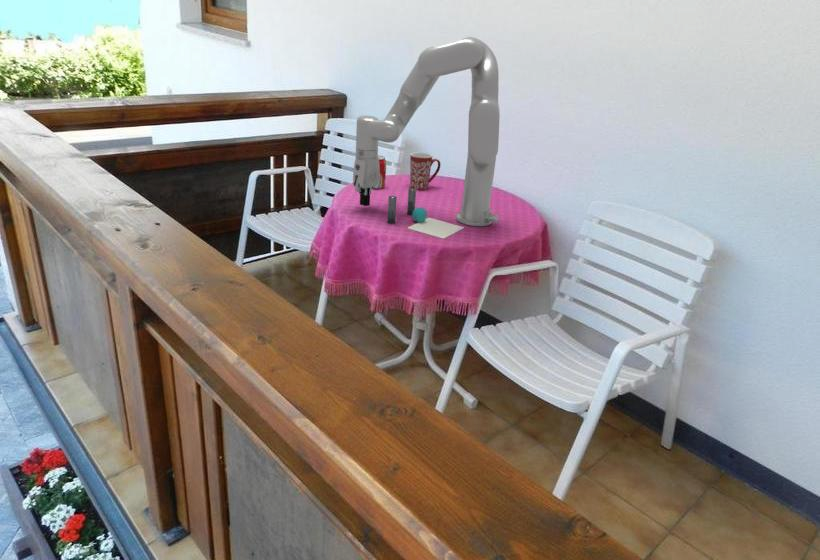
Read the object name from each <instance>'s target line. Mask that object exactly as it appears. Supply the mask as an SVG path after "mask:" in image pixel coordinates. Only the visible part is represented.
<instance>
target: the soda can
mask: <svg viewBox="0 0 820 560" xmlns="http://www.w3.org/2000/svg"><path fill="white" fill-rule="evenodd" d="M378 158H379V166H380V180H379V183H378V184H377V185H375V186H374V187H373V188H372V189H374V190H376V189H377V190H381V189H383V188H384V187H385V186H386V179H387V178H386V177H387V161H386V156H383V155H378ZM380 188H381V189H380Z"/></svg>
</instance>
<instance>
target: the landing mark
mask: <svg viewBox="0 0 820 560" xmlns="http://www.w3.org/2000/svg"><path fill="white" fill-rule="evenodd" d="M406 229H408V230H410V231H414V232H418V233H422V234H424V235H429V236H432V237H435V238H439V239H442V240H445V239H446V238H449V237H450V236H452V235H454V234H456V233H457V232H459V231H462V230H463V229H465V227H464V226H461V225H459V224H458V225H457V224H454V223H449V222H446V221H443V220H439V219H437V218H433V217H426V219H425V220H424V221H423V222H417V223H414V224H412V225H410V226H407V227H406Z"/></svg>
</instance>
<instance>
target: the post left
mask: <svg viewBox="0 0 820 560" xmlns="http://www.w3.org/2000/svg"><path fill="white" fill-rule="evenodd" d="M387 202H388V203H387V205H388V207H387V221H386V223H387V224H388V225H389V224H390V225H391V224H392V225H393V224H394V225H395V224H396V216H397V215H396V213H397V195H388V201H387Z"/></svg>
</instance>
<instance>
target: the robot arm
mask: <svg viewBox="0 0 820 560" xmlns="http://www.w3.org/2000/svg"><path fill="white" fill-rule="evenodd" d="M466 70H470V72H471V96H470V97H471V98H470V99H471V101H470V105H469V106H470V107H469V111H468V127H467V129H468V133H467V134H468V135H467V138H468V139H467V157H466V158H467V159H466V167H465V168H466V169H465V176H464V185H463V192H462V202H461V209H460V212H458V213H457V214H456V217H455V220H456V221H458V223H460V224H462V225H466V226H471V227H486V226H487V227H488V226H489V225H491V224H492V223H496V224H497V223H498V222H499V215H497V214H493V213H492V211H493V209H491V208H490V207H491V206H490V205H491V199H492V198H491V197H492V191H493V184H494V176H495V170H496V161H497V156H498V153H499V139H500V116H501V115H500V106H499V79H500V77H499V65H498V61H497V58H496V56H495V54H494V51H493V50H492V49H491V48H490V46H489V45H488V44H486V43H485V42H483V41H482V40H480V39H479V38H477V37H472V36H466V37H464V38H462V39H461V40H457V41H453V42H451V43H446V44H443V45H440V46H429V47H426V48H425V49H424V50H423V51H422V52H421V53H420V54H419V56H418V59H417V61H416V63H415V64H414V66H413V68H412V69H411V70H410V73H409V74H408V76H407V78H406V79H405V80H404V82H403V84H402V85H401V87H400V90H399V93H398V96H397V98H396V100H395V102H394V103H393V105H392V106H391V108H390V110H389V111H388V114H386V116H385V118H383V119H379V118H378V117H376V116H374V115H373V116H372V115H361V116H358V117H357V119H356V127H355V129H356V131H355V133H356V134H355V159H354V164H353V165H354V166H353V171H352V184H353V186H354V191H355V192H357V193H358V194H359V205H361V206H364V207H368V206H370V203H371V194H372V191H373V189H374V188H373V187H374V186H375V185H377V184H378V183H379V180H380V166H379V158H378V156H379V155H378V154H379V153H378V152H379V142H383V143H389V144H390V143H394V142H396V141H397V140H398V139H399V138H400V136H401V134H402V133H403V132H404V130H405V128H406V127H407V125H408V124H409V123H410V121H411V119H412V117H413V116H414V114H415V113H416V111H417V110H418V109H419V107H420V106H421V105H422V104H423V103H424V101H425V100H426V98H427V97H428V95H429V94H430V93H431V91H432V89H433V87H434V86H435V84H436V83H437V81H438V79H440V78H441V77H442V76H446V75H450V74H454V73H458V72H462V71H466Z"/></svg>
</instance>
